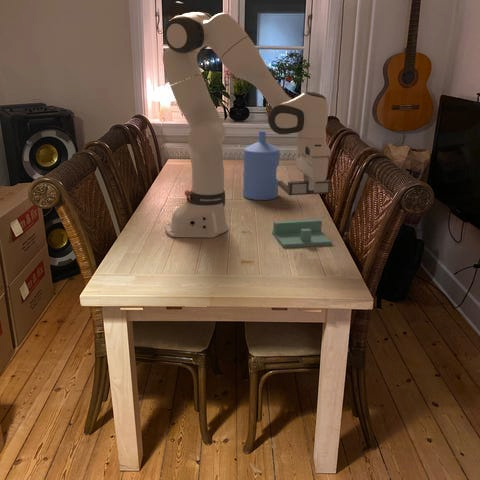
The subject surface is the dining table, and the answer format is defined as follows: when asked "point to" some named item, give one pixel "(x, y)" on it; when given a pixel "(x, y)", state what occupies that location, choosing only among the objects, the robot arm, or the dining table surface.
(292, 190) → the glasses frame
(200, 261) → the dining table surface
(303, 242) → the display stand
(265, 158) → the water jug
